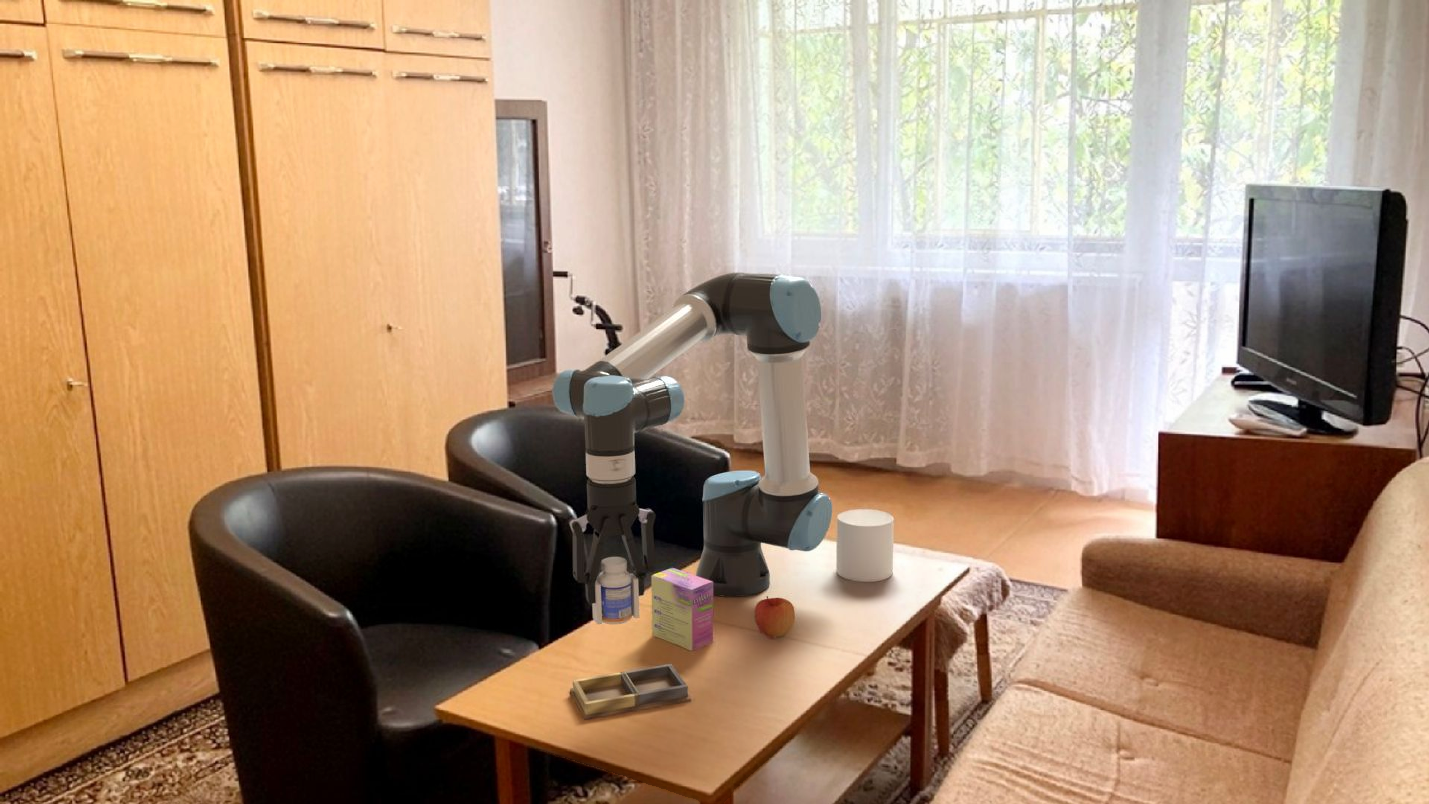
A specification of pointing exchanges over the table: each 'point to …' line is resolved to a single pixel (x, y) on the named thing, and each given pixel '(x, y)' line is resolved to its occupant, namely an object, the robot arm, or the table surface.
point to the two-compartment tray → (629, 691)
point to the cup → (865, 545)
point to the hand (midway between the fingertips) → (616, 617)
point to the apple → (774, 617)
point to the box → (682, 608)
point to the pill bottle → (615, 591)
